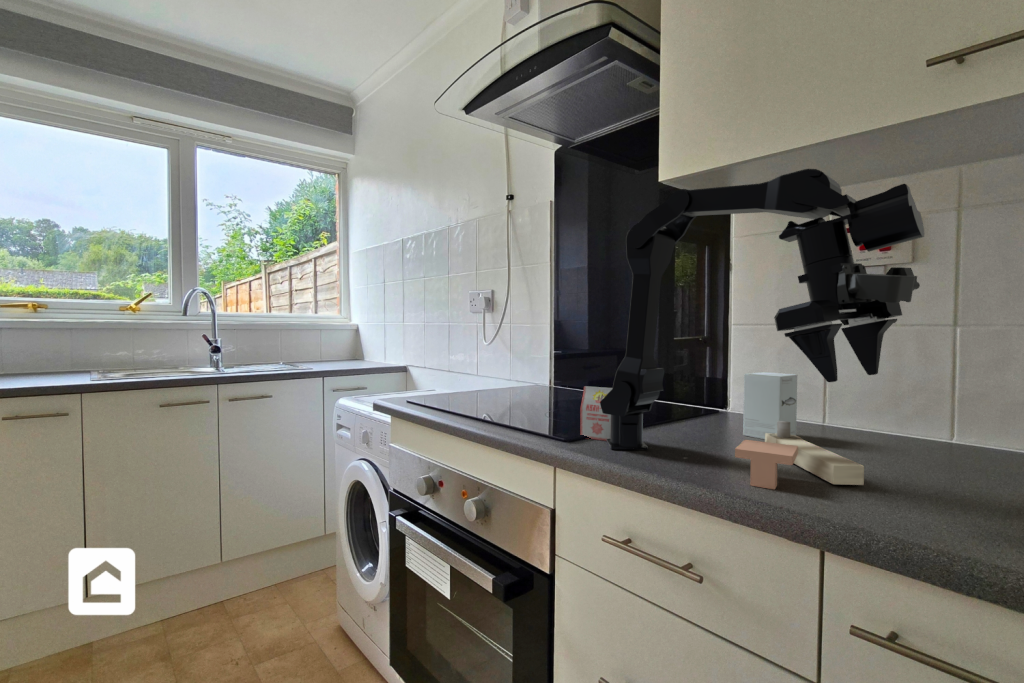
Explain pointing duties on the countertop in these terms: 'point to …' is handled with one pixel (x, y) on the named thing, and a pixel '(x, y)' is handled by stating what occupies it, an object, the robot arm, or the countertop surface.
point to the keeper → (765, 460)
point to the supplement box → (769, 403)
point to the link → (819, 458)
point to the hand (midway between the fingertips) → (853, 378)
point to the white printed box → (594, 414)
